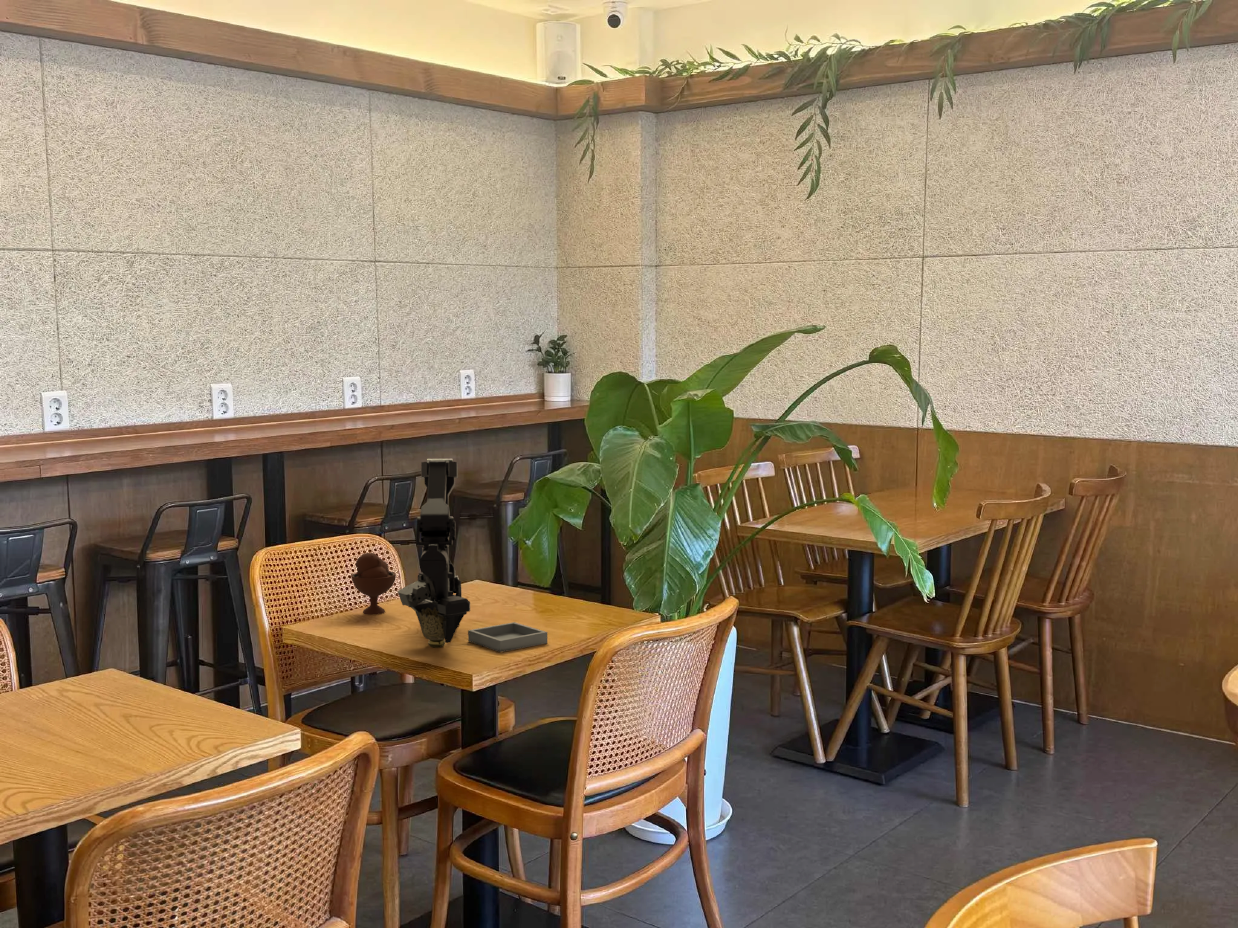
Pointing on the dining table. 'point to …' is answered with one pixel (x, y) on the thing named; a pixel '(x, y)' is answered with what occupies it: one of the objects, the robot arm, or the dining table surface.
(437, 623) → the cup
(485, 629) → the tray
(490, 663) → the dining table surface
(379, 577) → the ice cream bowl
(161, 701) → the dining table surface
